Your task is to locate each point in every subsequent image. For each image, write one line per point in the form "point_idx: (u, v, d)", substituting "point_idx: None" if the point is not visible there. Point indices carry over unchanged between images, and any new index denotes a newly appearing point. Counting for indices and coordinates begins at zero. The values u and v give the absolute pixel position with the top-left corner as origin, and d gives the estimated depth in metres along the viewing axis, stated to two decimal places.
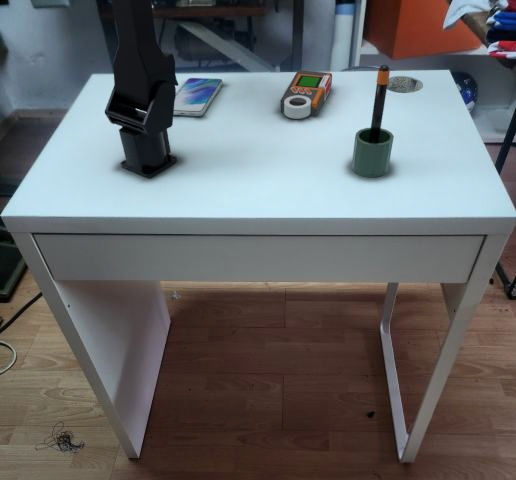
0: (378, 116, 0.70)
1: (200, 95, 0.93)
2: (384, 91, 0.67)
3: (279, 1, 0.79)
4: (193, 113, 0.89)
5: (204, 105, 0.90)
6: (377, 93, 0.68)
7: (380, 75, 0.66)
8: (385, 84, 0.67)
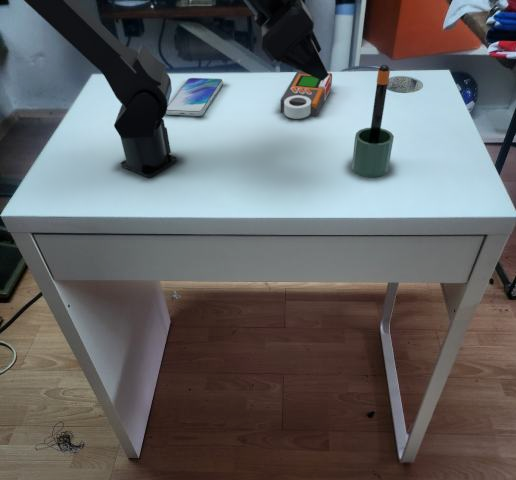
0: (378, 116, 0.70)
1: (200, 95, 0.93)
2: (384, 91, 0.67)
3: (313, 73, 0.64)
4: (193, 113, 0.89)
5: (204, 105, 0.90)
6: (377, 93, 0.68)
7: (380, 75, 0.66)
8: (385, 84, 0.67)
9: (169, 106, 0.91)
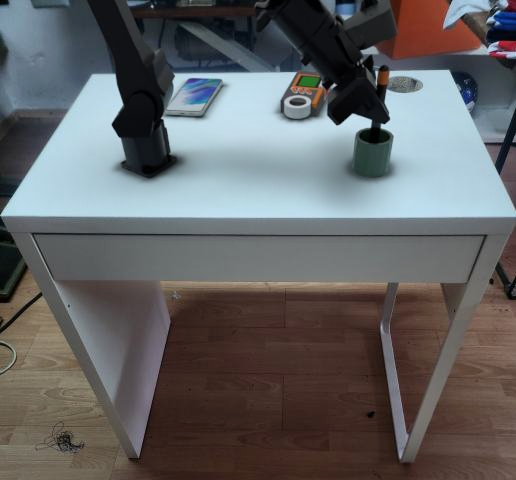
0: None
1: (200, 95, 0.93)
2: (384, 91, 0.67)
3: (376, 118, 0.69)
4: (193, 113, 0.89)
5: (204, 105, 0.90)
6: (377, 93, 0.68)
7: (380, 75, 0.66)
8: (385, 84, 0.67)
9: (169, 106, 0.91)
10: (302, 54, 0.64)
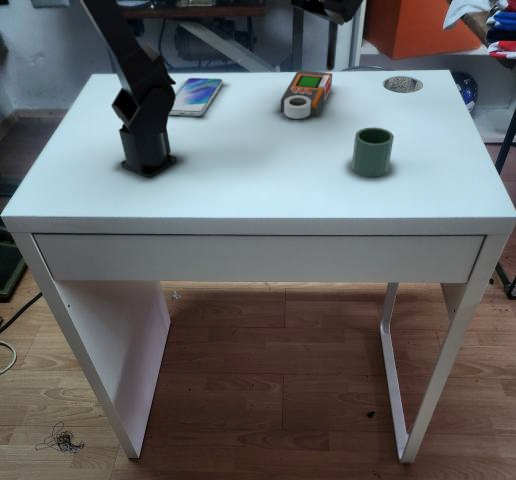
0: None
1: (200, 95, 0.93)
2: None
3: (339, 20, 0.78)
4: (193, 113, 0.89)
5: (204, 105, 0.90)
6: None
7: None
8: None
9: None
10: None
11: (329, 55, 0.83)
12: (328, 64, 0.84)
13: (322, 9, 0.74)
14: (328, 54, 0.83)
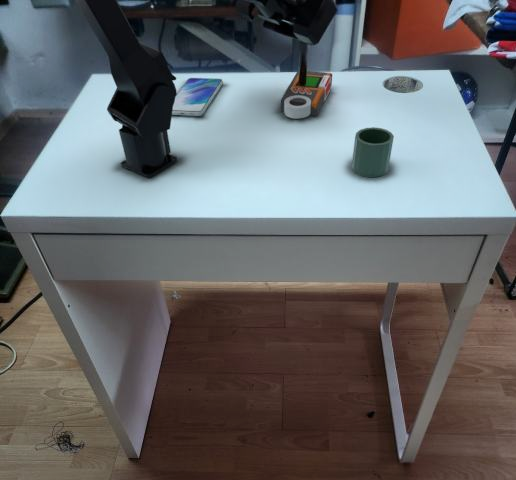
0: None
1: (200, 95, 0.93)
2: None
3: None
4: (193, 113, 0.89)
5: (204, 105, 0.90)
6: None
7: None
8: None
9: None
10: None
11: (301, 72, 0.88)
12: (300, 81, 0.89)
13: (292, 32, 0.79)
14: (300, 72, 0.88)
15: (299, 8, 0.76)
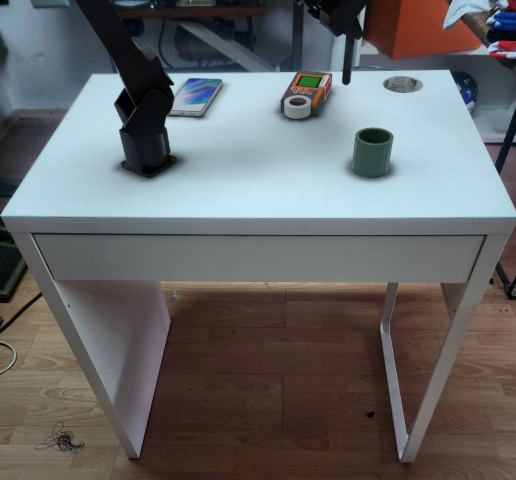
0: None
1: (200, 95, 0.93)
2: None
3: (352, 34, 0.74)
4: (193, 113, 0.89)
5: (204, 105, 0.90)
6: None
7: None
8: None
9: None
10: None
11: (344, 69, 0.79)
12: (343, 78, 0.80)
13: None
14: (343, 68, 0.79)
15: None
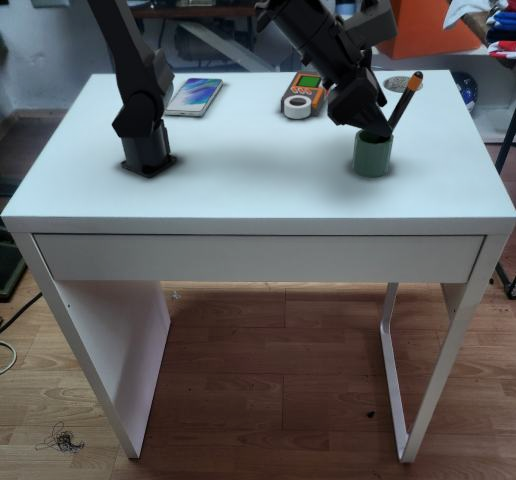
0: (396, 119, 0.70)
1: (200, 95, 0.93)
2: (410, 97, 0.68)
3: (378, 131, 0.67)
4: (193, 113, 0.89)
5: (204, 105, 0.90)
6: (403, 96, 0.68)
7: (413, 80, 0.66)
8: (414, 91, 0.67)
9: (169, 106, 0.91)
10: (302, 54, 0.64)
11: None
12: None
13: None
14: None
15: None
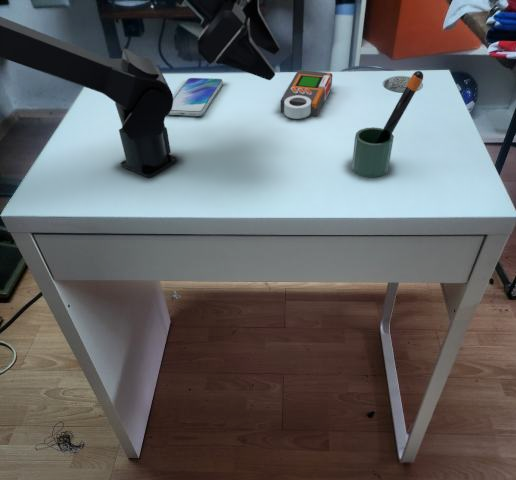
0: (396, 119, 0.70)
1: (200, 95, 0.93)
2: (410, 97, 0.68)
3: (259, 73, 0.65)
4: (193, 113, 0.89)
5: (204, 105, 0.90)
6: (403, 96, 0.68)
7: (413, 80, 0.66)
8: (414, 91, 0.67)
9: None
10: None
11: None
12: None
13: (219, 54, 0.63)
14: None
15: None
